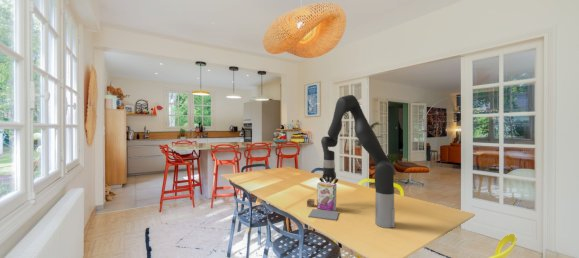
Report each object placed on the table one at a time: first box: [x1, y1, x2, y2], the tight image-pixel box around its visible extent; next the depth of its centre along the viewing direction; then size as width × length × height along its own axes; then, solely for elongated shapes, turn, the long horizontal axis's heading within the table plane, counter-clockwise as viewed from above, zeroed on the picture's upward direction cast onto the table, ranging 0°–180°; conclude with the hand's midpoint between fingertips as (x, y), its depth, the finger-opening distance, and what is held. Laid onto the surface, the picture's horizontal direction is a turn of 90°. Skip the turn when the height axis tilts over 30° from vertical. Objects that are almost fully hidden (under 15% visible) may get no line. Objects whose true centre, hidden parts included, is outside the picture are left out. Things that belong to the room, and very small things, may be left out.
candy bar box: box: [316, 181, 337, 211], centre depth 149 cm, size 11×5×16 cm, turn 58°
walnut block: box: [306, 198, 315, 208], centre depth 156 cm, size 4×4×4 cm
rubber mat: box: [308, 208, 340, 221], centre depth 140 cm, size 16×12×1 cm
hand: (328, 192), depth 158 cm, fingers closed
